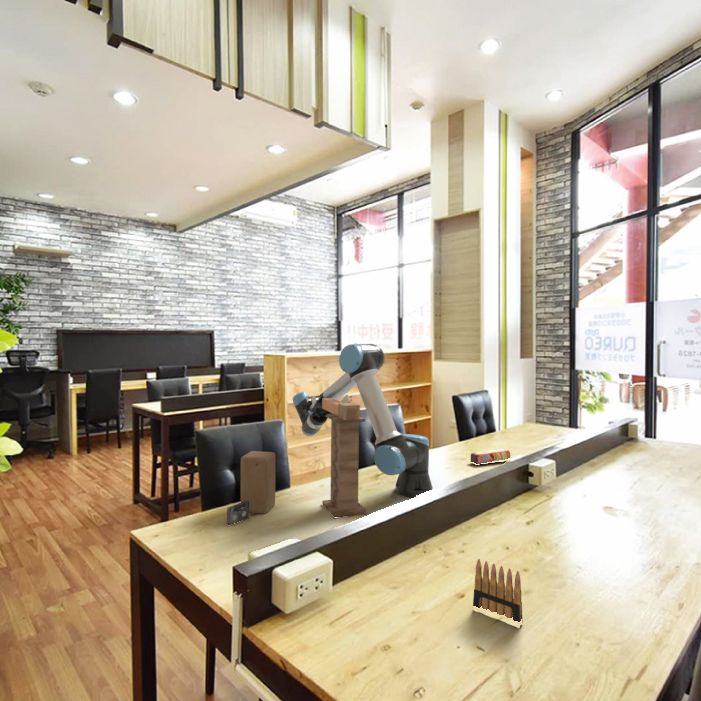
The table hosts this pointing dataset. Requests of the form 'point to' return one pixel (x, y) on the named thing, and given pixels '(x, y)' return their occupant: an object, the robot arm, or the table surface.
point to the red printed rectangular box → (490, 456)
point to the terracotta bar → (341, 409)
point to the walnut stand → (344, 468)
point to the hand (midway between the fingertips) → (331, 398)
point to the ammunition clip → (498, 592)
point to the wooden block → (258, 481)
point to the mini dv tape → (238, 512)
